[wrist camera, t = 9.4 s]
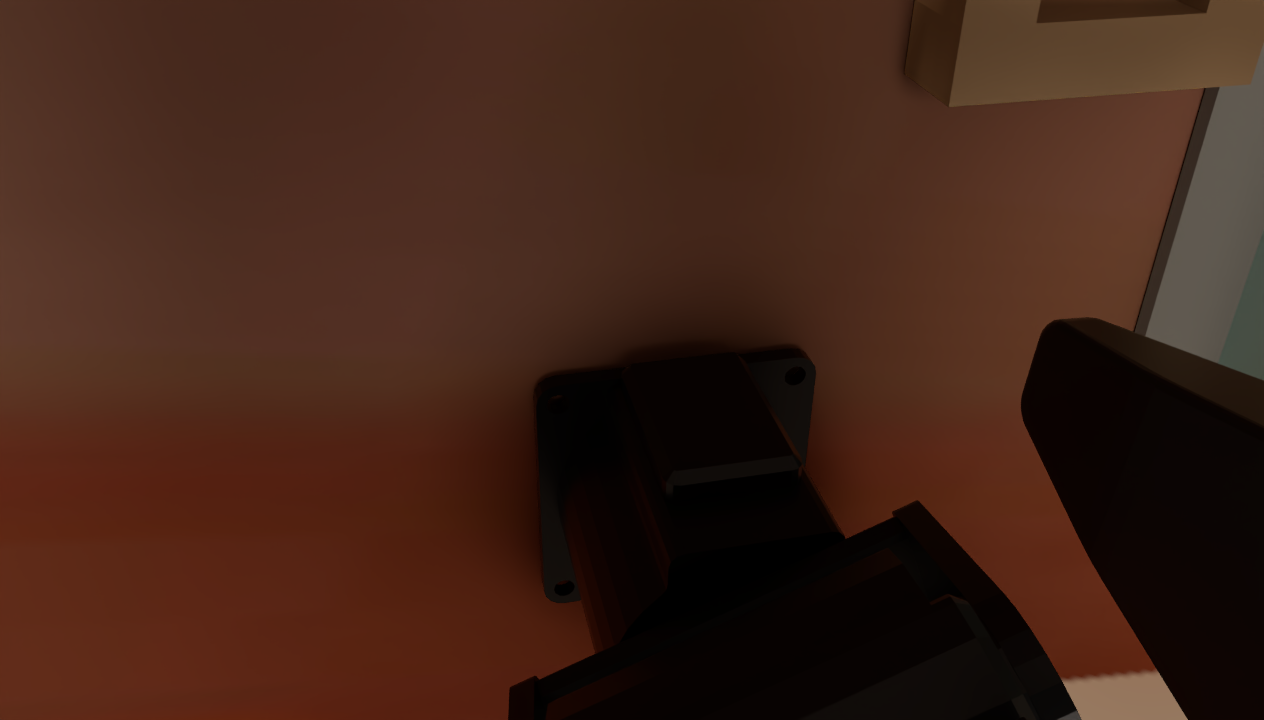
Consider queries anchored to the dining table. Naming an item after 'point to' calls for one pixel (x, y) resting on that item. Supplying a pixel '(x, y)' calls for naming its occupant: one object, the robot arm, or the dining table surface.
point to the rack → (1080, 47)
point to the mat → (1211, 224)
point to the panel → (1248, 324)
